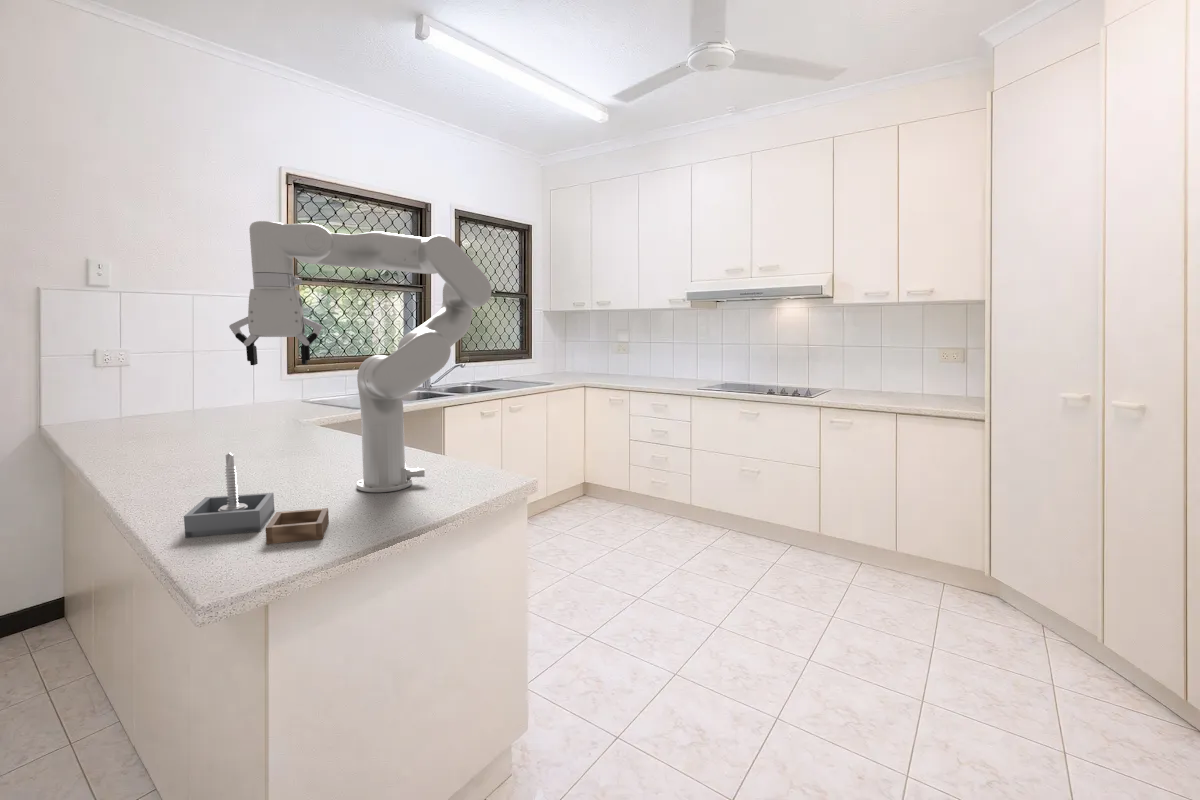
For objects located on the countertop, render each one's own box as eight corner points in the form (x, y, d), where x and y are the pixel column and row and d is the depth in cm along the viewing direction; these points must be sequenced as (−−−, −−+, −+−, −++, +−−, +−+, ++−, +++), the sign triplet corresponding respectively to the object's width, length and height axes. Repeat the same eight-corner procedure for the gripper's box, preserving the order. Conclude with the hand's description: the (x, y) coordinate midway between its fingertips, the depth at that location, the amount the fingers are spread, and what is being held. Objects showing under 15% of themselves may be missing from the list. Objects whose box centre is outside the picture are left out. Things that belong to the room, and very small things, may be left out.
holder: (328, 522, 112) (328, 508, 112) (322, 539, 104) (321, 523, 103) (277, 527, 109) (276, 512, 109) (266, 544, 101) (265, 527, 100)
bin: (274, 511, 118) (273, 492, 118) (260, 531, 107) (259, 510, 107) (207, 516, 115) (205, 497, 114) (185, 537, 103) (183, 516, 103)
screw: (215, 518, 110) (243, 512, 114) (224, 524, 107) (252, 518, 111) (210, 453, 109) (238, 449, 113) (219, 457, 106) (248, 452, 110)
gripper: (321, 285, 126) (326, 362, 128) (231, 283, 120) (237, 363, 123) (317, 283, 119) (322, 364, 121) (221, 280, 113) (228, 366, 116)
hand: (279, 364), depth 122 cm, fingers open, 9 cm apart
